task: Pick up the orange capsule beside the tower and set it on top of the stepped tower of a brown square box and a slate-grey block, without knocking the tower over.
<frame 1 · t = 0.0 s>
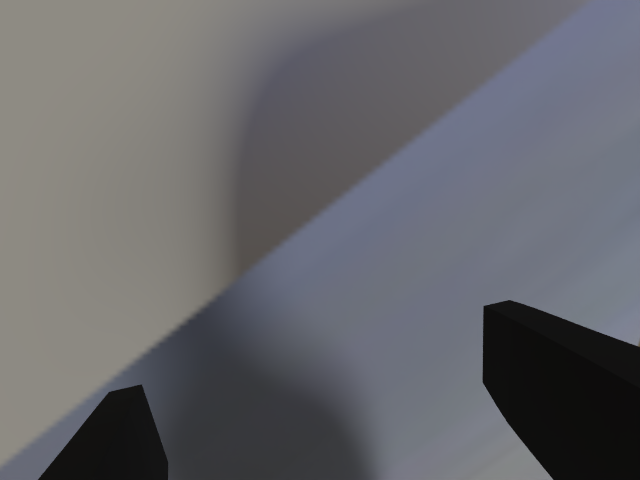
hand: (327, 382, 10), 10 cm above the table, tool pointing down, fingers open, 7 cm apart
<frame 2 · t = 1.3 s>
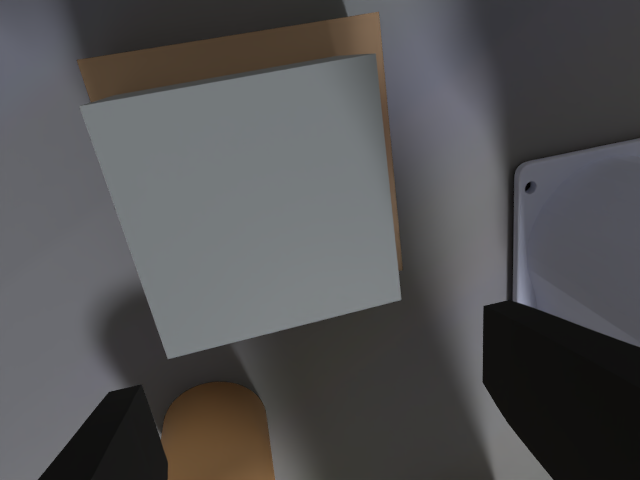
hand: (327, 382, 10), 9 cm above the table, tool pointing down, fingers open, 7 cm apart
brown square box: (255, 158, 17), on the table, touching slate block
slate block: (253, 181, 14), point 3 cm above the table, touching brown square box
orange capsule: (216, 423, 20), on the table
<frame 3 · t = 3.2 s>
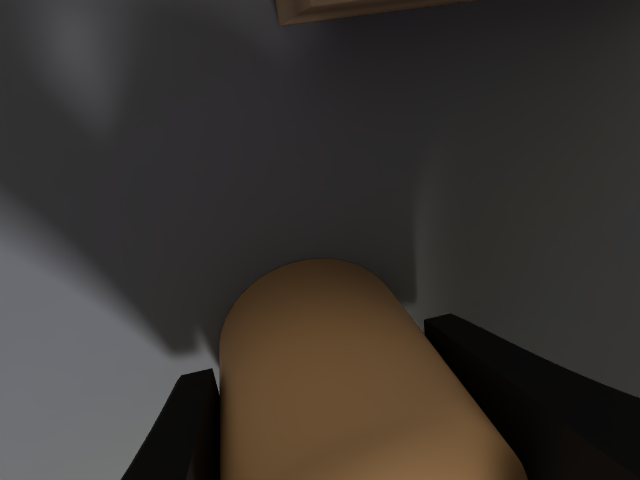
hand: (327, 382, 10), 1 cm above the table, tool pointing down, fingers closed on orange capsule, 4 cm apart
orange capsule: (314, 344, 11), on the table, touching gripper
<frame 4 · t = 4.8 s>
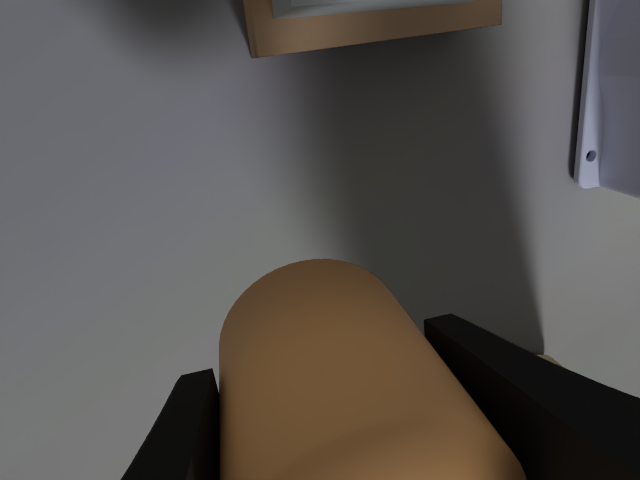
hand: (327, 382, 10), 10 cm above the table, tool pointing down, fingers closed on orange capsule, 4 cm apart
orange capsule: (313, 344, 11), point 9 cm above the table, touching gripper
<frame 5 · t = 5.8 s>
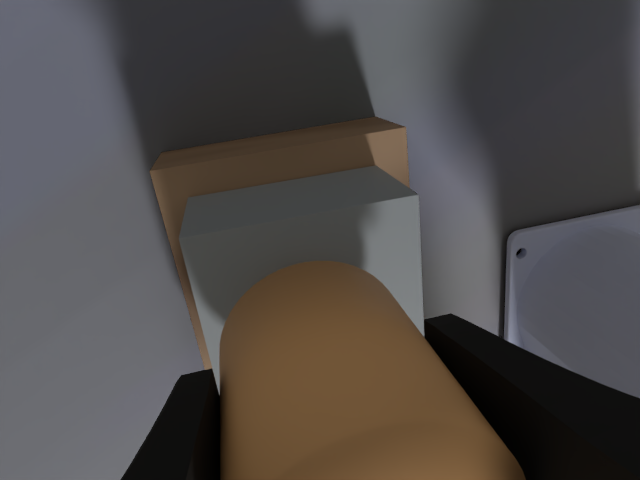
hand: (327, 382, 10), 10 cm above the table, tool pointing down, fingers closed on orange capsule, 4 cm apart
brown square box: (287, 230, 19), on the table, touching slate block
slate block: (297, 266, 16), point 3 cm above the table, touching brown square box
orange capsule: (314, 346, 11), point 8 cm above the table, touching gripper
when the fingers open (9 cm above the table, at t = 6.3 s): orange capsule drops 1 cm, resting on slate block.
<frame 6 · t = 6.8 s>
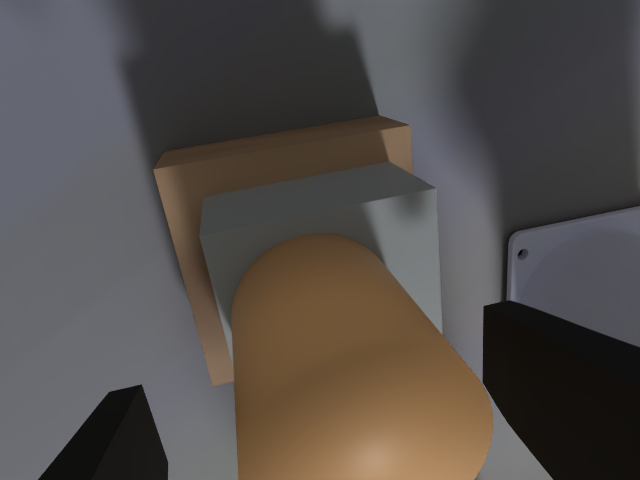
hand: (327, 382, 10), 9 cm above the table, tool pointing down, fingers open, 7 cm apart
brown square box: (290, 229, 19), on the table, touching slate block
slate block: (312, 263, 16), point 3 cm above the table, touching orange capsule, brown square box
orange capsule: (315, 310, 12), point 7 cm above the table, touching slate block
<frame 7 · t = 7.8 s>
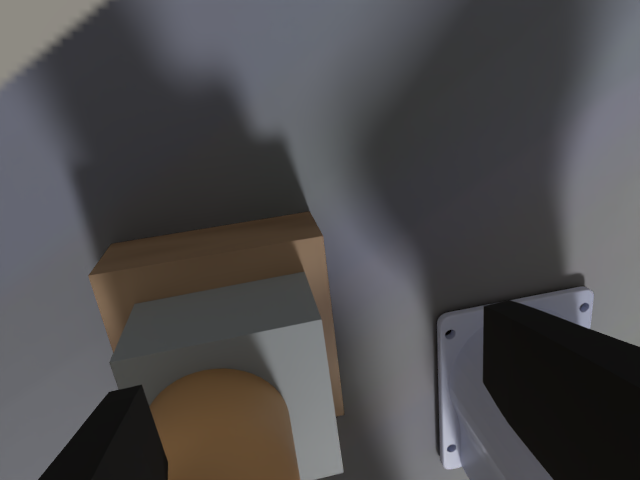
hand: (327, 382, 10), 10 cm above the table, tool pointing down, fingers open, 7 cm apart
brown square box: (231, 308, 21), on the table, touching slate block
slate block: (237, 357, 17), point 3 cm above the table, touching orange capsule, brown square box
orange capsule: (218, 429, 14), point 7 cm above the table, touching slate block
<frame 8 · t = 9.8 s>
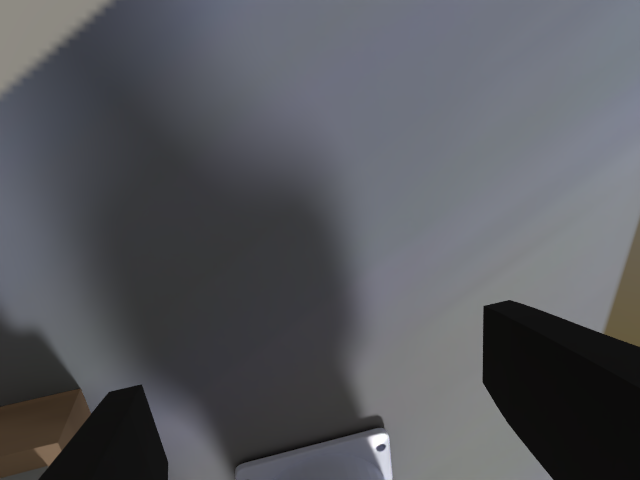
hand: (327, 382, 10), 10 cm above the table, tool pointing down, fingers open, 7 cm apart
brown square box: (20, 472, 21), on the table, touching slate block
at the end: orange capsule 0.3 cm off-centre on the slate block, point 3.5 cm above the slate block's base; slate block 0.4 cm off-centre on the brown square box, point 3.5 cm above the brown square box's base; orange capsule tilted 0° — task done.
